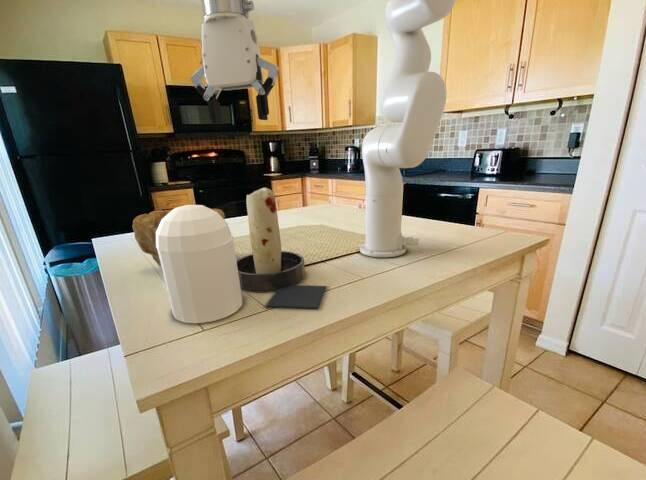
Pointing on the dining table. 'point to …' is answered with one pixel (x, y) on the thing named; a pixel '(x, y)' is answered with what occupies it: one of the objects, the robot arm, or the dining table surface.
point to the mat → (297, 297)
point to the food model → (264, 231)
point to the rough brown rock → (152, 231)
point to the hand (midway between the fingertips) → (240, 121)
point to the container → (198, 264)
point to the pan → (270, 282)
